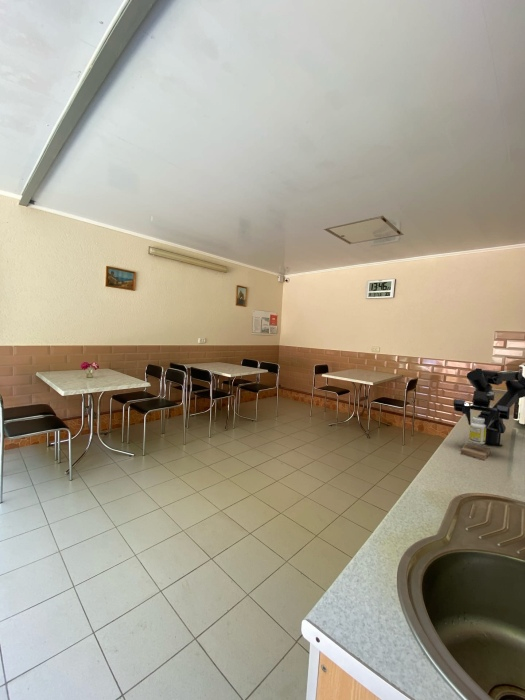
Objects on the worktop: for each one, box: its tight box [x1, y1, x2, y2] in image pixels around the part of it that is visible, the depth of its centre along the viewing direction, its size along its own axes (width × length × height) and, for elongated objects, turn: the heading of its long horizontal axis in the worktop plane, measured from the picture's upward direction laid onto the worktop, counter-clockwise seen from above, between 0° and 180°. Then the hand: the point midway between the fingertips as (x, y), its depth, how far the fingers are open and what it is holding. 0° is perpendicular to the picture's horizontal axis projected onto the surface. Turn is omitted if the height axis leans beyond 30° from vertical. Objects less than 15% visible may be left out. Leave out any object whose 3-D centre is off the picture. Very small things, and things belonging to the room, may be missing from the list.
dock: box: [460, 442, 491, 461], centre depth 122 cm, size 10×8×2 cm
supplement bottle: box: [468, 416, 486, 445], centre depth 122 cm, size 5×5×10 cm
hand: (477, 426), depth 120 cm, fingers closed on supplement bottle, 5 cm apart
